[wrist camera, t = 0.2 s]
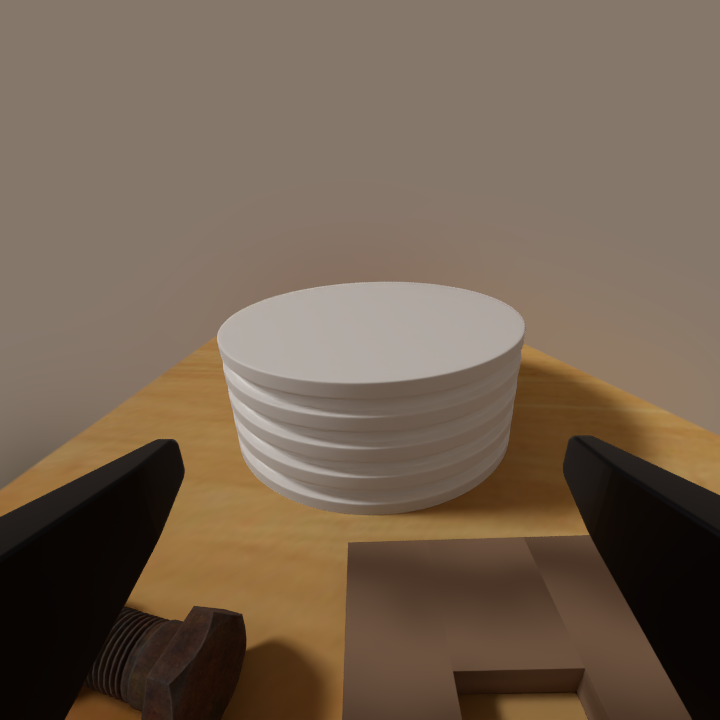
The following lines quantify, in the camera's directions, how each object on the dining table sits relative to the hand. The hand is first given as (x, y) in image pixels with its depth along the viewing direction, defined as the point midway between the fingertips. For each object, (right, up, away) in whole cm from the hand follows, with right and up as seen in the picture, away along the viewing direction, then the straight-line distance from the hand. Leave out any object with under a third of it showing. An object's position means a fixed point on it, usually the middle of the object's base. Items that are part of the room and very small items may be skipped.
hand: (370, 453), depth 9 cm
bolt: (-14, -14, +12) cm, 23 cm away
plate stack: (+1, -4, +32) cm, 33 cm away
